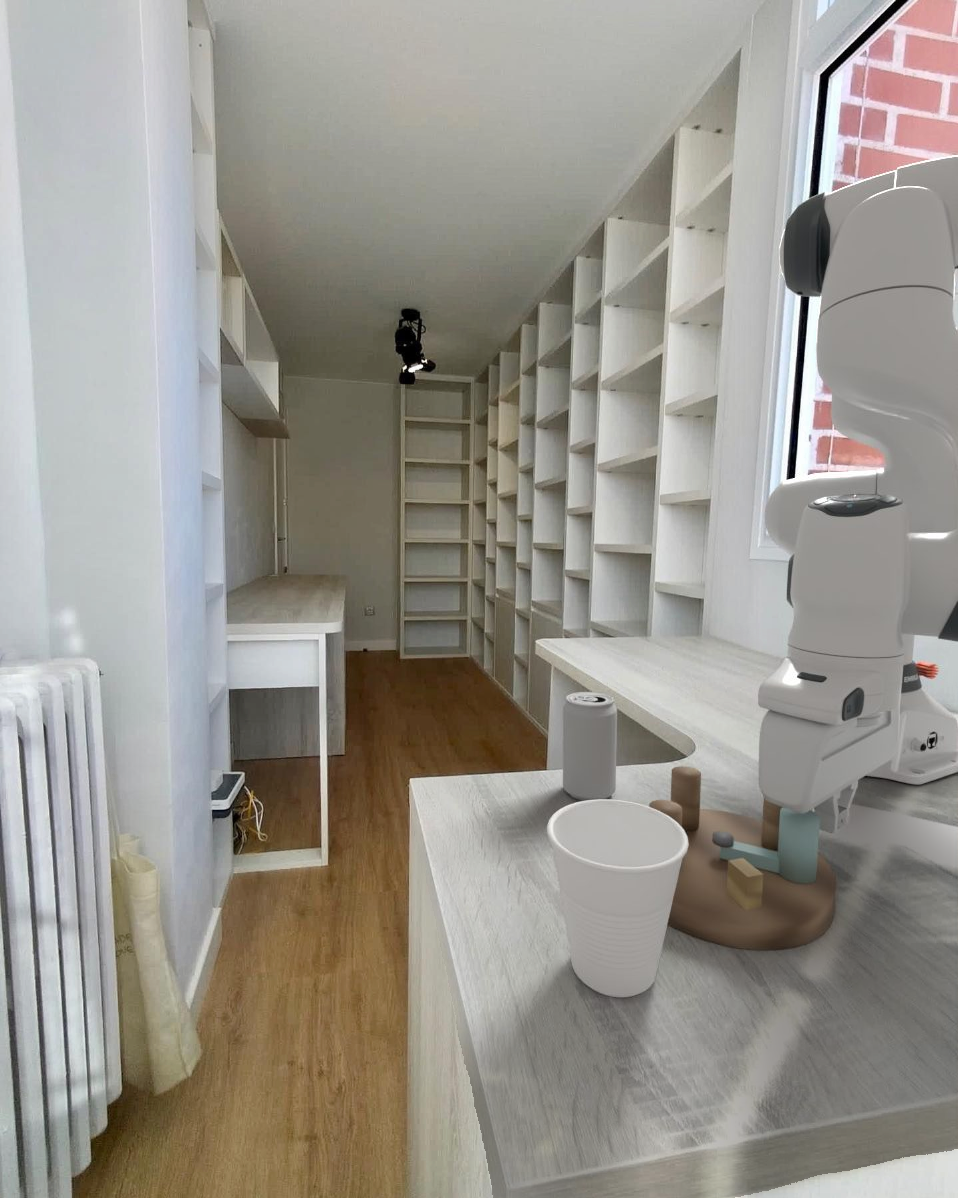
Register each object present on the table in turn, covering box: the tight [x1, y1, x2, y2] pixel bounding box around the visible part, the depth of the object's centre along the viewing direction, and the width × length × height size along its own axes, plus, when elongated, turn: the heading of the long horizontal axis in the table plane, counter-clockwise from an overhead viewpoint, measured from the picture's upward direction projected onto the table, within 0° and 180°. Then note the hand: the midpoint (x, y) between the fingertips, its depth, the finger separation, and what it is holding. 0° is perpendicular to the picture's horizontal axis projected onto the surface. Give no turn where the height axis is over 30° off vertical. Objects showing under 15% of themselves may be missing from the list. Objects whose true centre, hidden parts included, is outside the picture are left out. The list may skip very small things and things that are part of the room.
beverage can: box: [562, 691, 618, 801], centre depth 73 cm, size 6×6×12 cm
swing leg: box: [712, 808, 820, 884], centre depth 53 cm, size 8×3×5 cm, turn 59°
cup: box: [546, 798, 689, 998], centre depth 44 cm, size 10×10×11 cm
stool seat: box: [648, 765, 837, 951], centre depth 55 cm, size 18×18×8 cm
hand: (830, 826), depth 55 cm, fingers closed
